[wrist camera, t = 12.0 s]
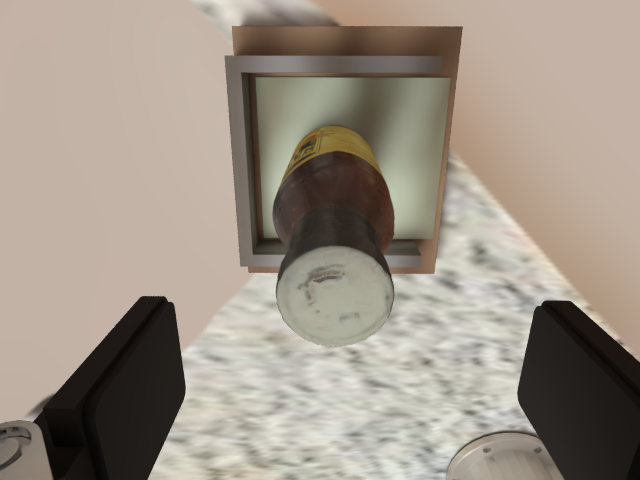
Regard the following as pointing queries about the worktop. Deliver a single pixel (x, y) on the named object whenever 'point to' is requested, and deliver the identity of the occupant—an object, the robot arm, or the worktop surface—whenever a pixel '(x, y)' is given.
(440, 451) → the worktop surface
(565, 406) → the robot arm
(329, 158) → the sauce bottle
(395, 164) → the dock
